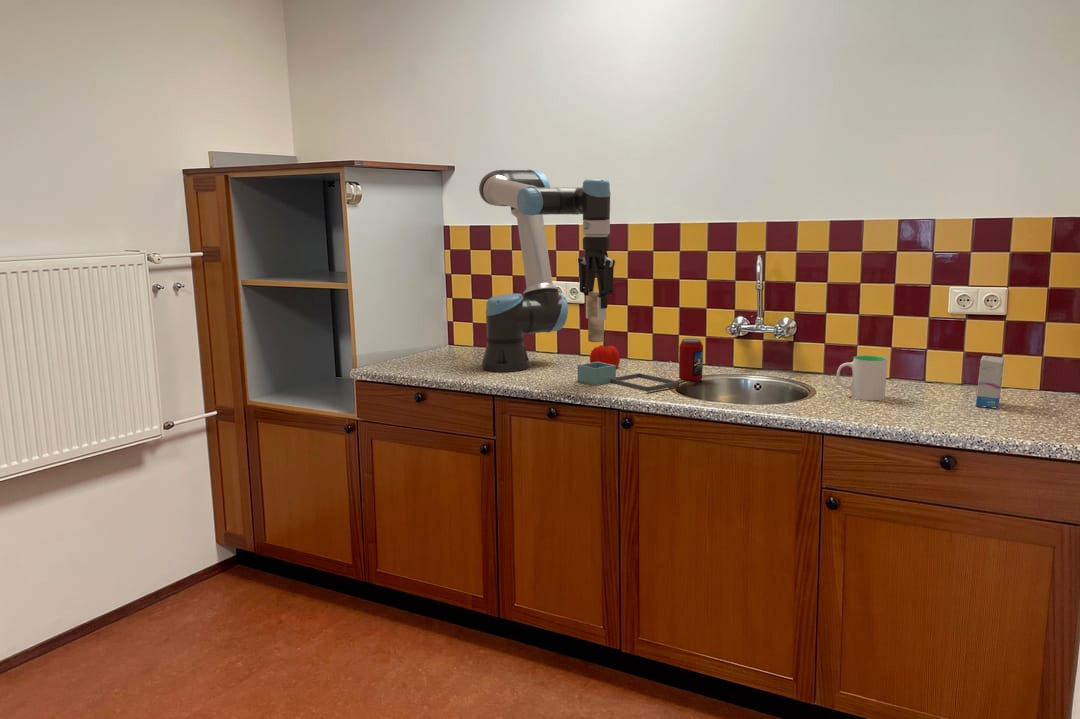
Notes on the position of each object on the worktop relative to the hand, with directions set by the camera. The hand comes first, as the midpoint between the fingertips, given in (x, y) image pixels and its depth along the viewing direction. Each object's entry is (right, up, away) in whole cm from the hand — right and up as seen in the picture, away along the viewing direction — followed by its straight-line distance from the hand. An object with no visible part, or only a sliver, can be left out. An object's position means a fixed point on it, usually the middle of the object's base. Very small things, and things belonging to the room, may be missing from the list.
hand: (595, 318), depth 229 cm
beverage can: (+28, -18, +6) cm, 34 cm away
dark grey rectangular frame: (+13, -19, -1) cm, 23 cm away
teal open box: (0, -19, +3) cm, 19 cm away
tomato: (+4, -15, +24) cm, 29 cm away
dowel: (0, -6, +1) cm, 6 cm away
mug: (+68, -22, -18) cm, 74 cm away
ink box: (+96, -23, -28) cm, 102 cm away
